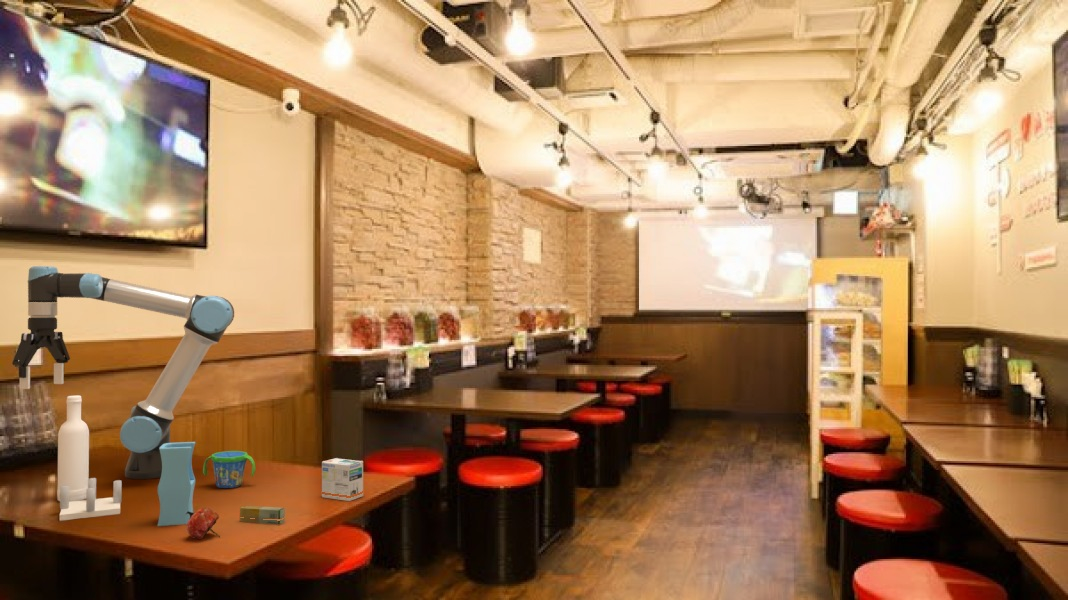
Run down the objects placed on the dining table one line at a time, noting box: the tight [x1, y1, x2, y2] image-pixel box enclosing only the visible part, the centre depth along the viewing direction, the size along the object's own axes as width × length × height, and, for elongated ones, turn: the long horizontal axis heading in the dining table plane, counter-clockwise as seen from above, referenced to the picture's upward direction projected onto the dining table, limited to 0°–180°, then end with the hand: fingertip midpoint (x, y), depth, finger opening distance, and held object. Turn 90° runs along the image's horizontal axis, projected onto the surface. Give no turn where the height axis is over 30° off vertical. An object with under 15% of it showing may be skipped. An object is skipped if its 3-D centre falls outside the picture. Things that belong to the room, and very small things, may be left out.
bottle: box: [56, 394, 90, 502], centre depth 219 cm, size 8×8×30 cm
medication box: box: [239, 505, 286, 526], centre depth 198 cm, size 12×3×4 cm, turn 78°
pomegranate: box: [185, 507, 221, 540], centre depth 185 cm, size 7×7×10 cm
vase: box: [157, 441, 196, 527], centre depth 198 cm, size 8×8×20 cm
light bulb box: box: [321, 457, 364, 502], centre depth 223 cm, size 11×7×11 cm, turn 65°
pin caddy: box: [59, 477, 123, 522], centre depth 207 cm, size 15×15×8 cm
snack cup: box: [202, 450, 256, 489], centre depth 235 cm, size 16×10×10 cm
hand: (42, 386), depth 229 cm, fingers open, 13 cm apart
